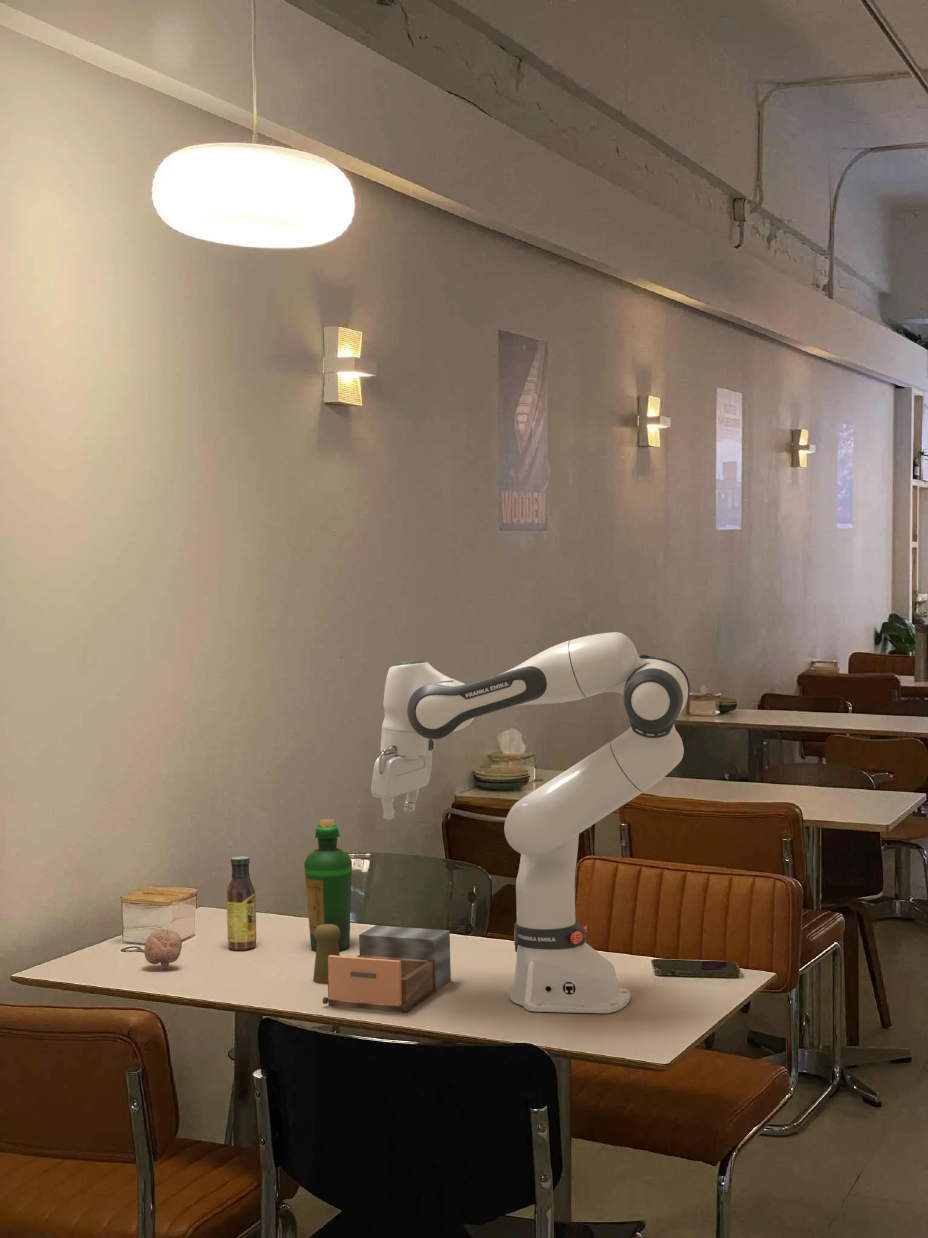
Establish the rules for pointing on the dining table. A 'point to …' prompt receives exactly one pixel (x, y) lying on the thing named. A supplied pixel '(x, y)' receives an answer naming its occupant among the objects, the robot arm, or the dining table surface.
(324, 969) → the cork
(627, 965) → the dining table surface
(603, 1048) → the dining table surface
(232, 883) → the sauce bottle
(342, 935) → the bottle
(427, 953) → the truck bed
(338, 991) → the wooden board
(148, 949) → the brown rounded lump
